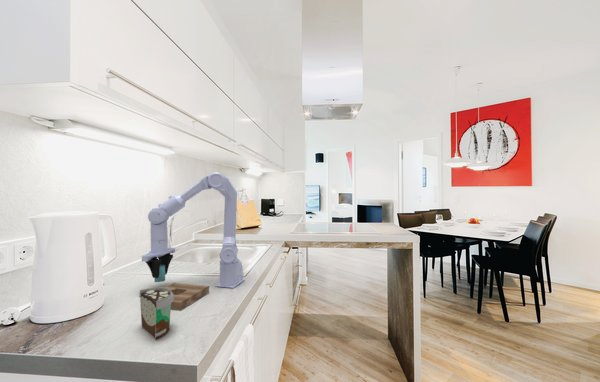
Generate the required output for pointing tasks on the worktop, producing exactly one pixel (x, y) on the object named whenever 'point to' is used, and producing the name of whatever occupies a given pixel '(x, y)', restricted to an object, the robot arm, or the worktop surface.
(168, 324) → the food container
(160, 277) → the teal peg
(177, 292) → the walnut collar plate
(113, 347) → the worktop surface
